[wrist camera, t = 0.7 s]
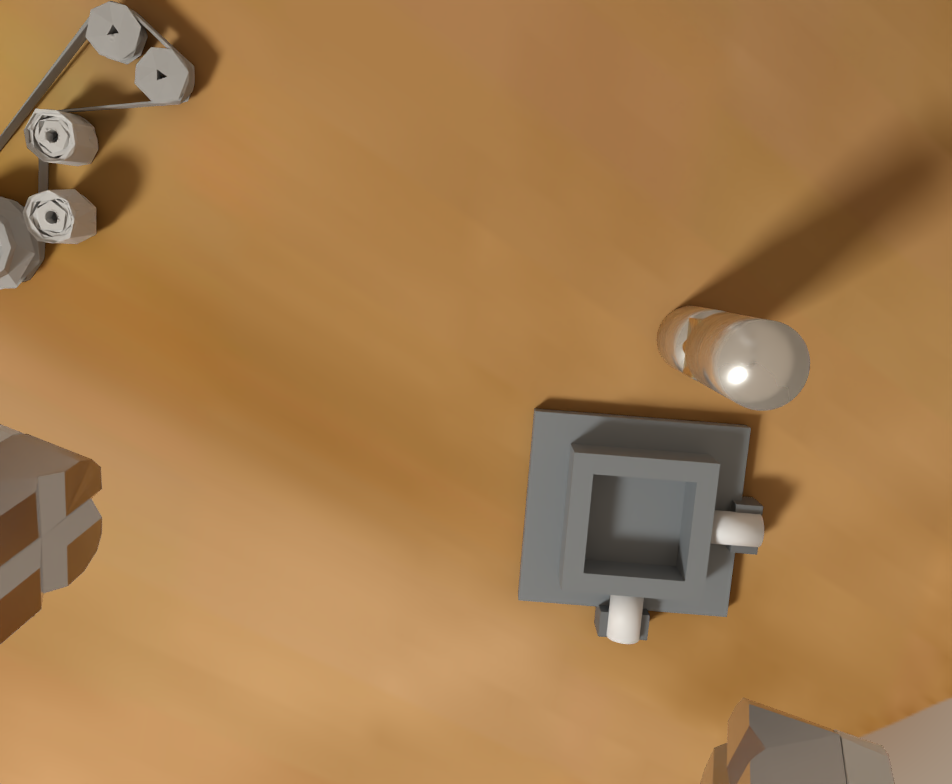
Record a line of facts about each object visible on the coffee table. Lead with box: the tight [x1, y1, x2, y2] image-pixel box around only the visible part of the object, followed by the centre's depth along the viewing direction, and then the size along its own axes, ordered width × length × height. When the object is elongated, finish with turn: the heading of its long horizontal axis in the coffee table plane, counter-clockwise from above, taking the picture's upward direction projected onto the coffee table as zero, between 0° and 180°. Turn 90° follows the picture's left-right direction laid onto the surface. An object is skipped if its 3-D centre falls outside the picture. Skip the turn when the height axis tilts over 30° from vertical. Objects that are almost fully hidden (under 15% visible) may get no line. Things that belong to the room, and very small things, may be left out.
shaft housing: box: [518, 408, 764, 644], centre depth 51 cm, size 14×14×4 cm
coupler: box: [657, 306, 810, 411], centre depth 44 cm, size 4×4×14 cm
